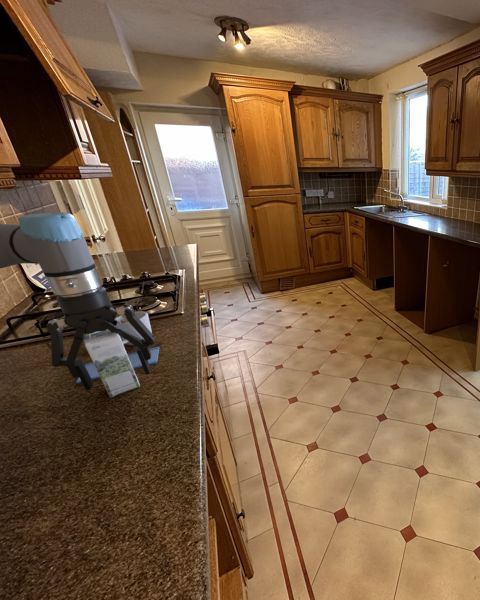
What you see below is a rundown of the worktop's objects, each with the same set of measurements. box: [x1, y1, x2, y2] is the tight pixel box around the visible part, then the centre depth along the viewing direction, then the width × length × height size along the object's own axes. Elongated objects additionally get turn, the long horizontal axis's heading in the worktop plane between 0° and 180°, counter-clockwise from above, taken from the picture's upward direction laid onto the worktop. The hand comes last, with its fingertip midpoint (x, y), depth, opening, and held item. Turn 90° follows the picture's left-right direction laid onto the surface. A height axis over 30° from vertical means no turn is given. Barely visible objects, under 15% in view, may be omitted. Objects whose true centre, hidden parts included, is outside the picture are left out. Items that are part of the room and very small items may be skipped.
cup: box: [115, 310, 153, 346], centre depth 92 cm, size 11×8×8 cm
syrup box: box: [83, 329, 141, 398], centre depth 73 cm, size 6×6×14 cm
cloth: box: [75, 346, 160, 385], centre depth 84 cm, size 16×9×1 cm, turn 121°
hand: (120, 378), depth 75 cm, fingers open, 10 cm apart
